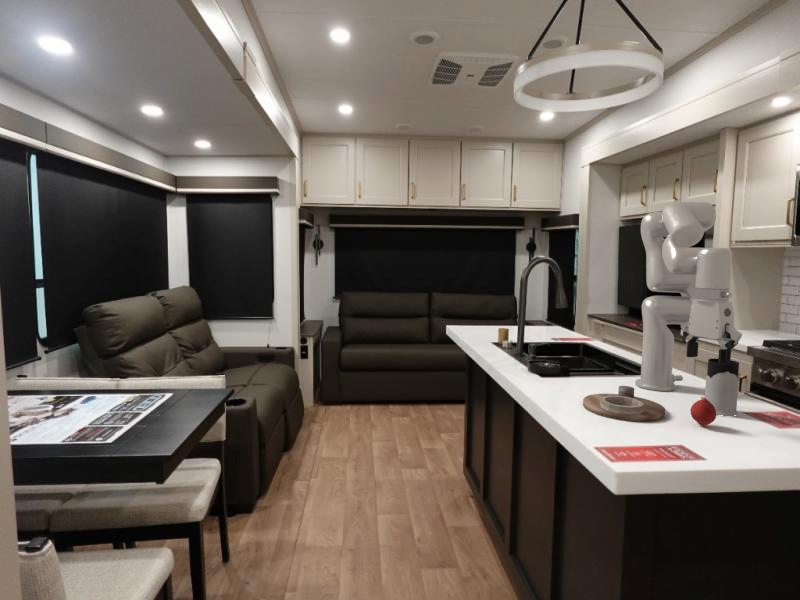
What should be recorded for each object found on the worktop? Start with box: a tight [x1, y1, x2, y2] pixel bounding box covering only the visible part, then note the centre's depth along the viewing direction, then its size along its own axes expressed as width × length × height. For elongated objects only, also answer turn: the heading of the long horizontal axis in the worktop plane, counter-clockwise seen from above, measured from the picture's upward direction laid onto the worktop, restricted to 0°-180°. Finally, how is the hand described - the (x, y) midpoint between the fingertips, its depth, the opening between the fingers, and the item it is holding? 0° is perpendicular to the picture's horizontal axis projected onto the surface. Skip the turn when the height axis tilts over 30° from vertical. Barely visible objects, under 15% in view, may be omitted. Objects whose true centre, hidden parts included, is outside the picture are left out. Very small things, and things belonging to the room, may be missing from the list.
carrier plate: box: [582, 385, 667, 423], centre depth 142 cm, size 22×22×4 cm
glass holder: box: [704, 358, 740, 417], centre depth 143 cm, size 9×14×15 cm, turn 162°
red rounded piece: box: [690, 396, 717, 427], centre depth 129 cm, size 6×6×8 cm
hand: (707, 360), depth 127 cm, fingers open, 9 cm apart
